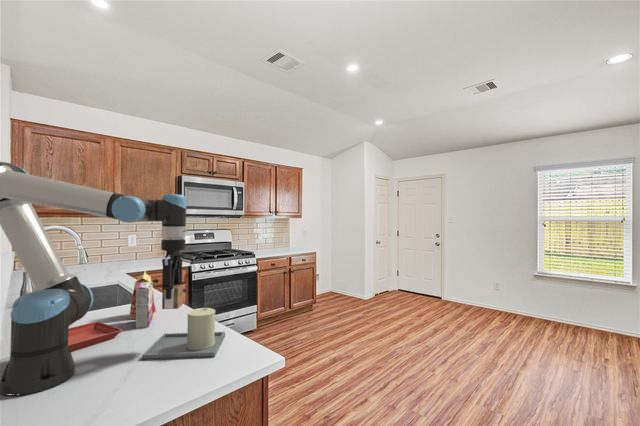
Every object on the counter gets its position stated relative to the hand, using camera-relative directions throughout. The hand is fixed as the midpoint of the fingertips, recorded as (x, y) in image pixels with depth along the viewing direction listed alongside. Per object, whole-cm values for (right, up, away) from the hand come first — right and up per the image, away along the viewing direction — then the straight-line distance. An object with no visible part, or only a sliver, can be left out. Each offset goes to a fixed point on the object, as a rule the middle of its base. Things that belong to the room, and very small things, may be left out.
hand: (172, 305), depth 105 cm
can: (+10, -14, +1) cm, 17 cm away
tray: (+5, -14, 0) cm, 15 cm away
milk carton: (-29, -15, +32) cm, 46 cm away
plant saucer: (-35, -14, +4) cm, 38 cm away
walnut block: (0, 0, 0) cm, 0 cm away
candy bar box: (-23, -15, +22) cm, 35 cm away
